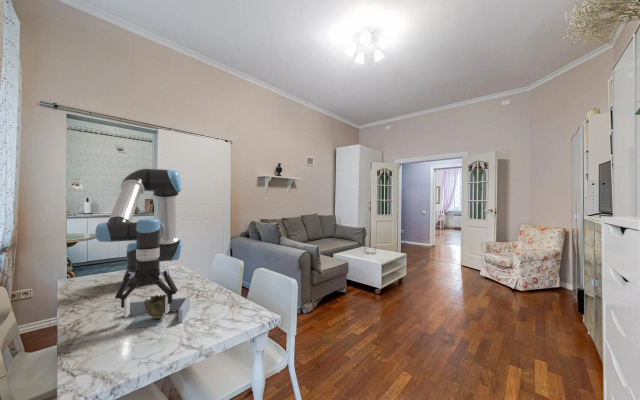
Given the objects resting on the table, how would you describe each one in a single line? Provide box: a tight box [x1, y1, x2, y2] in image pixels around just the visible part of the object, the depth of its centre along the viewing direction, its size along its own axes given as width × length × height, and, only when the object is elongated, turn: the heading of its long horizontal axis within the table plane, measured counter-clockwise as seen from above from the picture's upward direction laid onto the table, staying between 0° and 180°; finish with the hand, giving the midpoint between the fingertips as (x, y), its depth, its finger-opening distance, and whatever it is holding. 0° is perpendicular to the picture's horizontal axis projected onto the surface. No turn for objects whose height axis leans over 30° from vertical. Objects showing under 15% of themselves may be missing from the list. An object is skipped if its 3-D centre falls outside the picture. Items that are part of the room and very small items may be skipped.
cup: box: [143, 293, 167, 320], centre depth 98 cm, size 8×7×8 cm
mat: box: [125, 312, 167, 330], centre depth 97 cm, size 10×10×1 cm
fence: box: [128, 296, 191, 324], centre depth 99 cm, size 13×23×5 cm, turn 105°
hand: (147, 313), depth 97 cm, fingers open, 13 cm apart
